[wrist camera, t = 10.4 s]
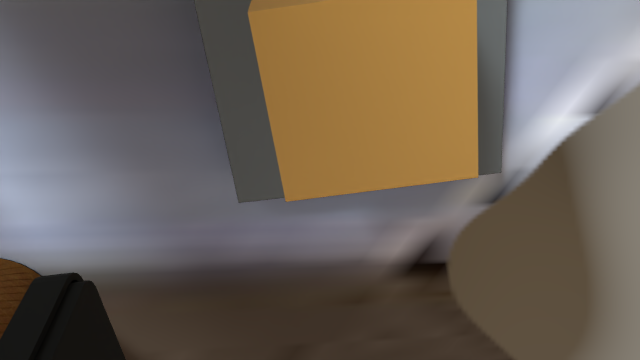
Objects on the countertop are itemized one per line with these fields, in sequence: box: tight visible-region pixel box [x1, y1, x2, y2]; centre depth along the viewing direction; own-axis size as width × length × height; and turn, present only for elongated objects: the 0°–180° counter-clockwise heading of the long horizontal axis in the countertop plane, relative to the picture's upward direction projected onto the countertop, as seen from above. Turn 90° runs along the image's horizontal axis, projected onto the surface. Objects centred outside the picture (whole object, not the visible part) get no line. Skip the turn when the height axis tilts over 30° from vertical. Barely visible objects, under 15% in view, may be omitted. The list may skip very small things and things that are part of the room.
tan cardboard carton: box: [248, 0, 478, 202], centre depth 20 cm, size 6×6×5 cm
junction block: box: [194, 0, 507, 203], centre depth 22 cm, size 15×12×10 cm
